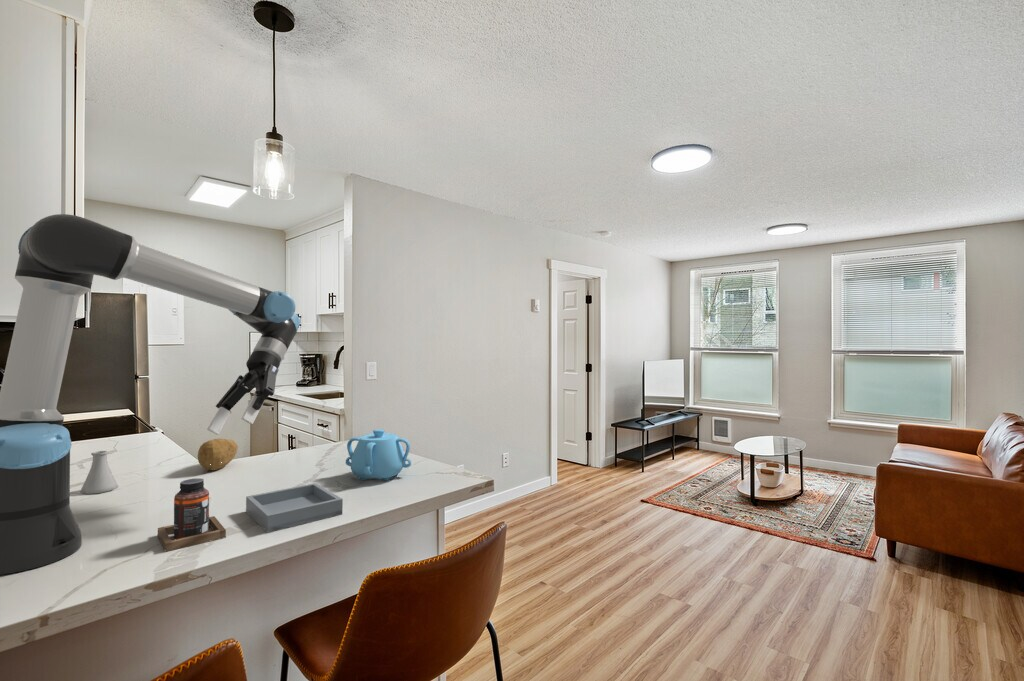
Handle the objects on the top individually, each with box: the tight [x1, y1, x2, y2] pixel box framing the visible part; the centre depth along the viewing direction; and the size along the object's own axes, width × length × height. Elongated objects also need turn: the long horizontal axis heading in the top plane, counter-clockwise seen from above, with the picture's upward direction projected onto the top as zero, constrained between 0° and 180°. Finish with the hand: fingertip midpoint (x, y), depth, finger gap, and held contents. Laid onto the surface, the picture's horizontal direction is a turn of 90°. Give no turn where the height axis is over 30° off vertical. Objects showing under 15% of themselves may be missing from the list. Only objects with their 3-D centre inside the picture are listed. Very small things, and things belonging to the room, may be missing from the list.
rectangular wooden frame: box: [157, 515, 227, 553], centre depth 98 cm, size 10×10×2 cm
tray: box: [245, 482, 344, 533], centre depth 112 cm, size 16×16×4 cm
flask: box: [79, 450, 119, 495], centre depth 125 cm, size 7×7×10 cm
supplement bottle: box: [173, 477, 210, 540], centre depth 98 cm, size 6×6×11 cm
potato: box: [197, 438, 239, 471], centre depth 148 cm, size 9×16×9 cm, turn 4°
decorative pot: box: [345, 428, 412, 481], centre depth 142 cm, size 16×16×14 cm
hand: (229, 426), depth 117 cm, fingers open, 13 cm apart
